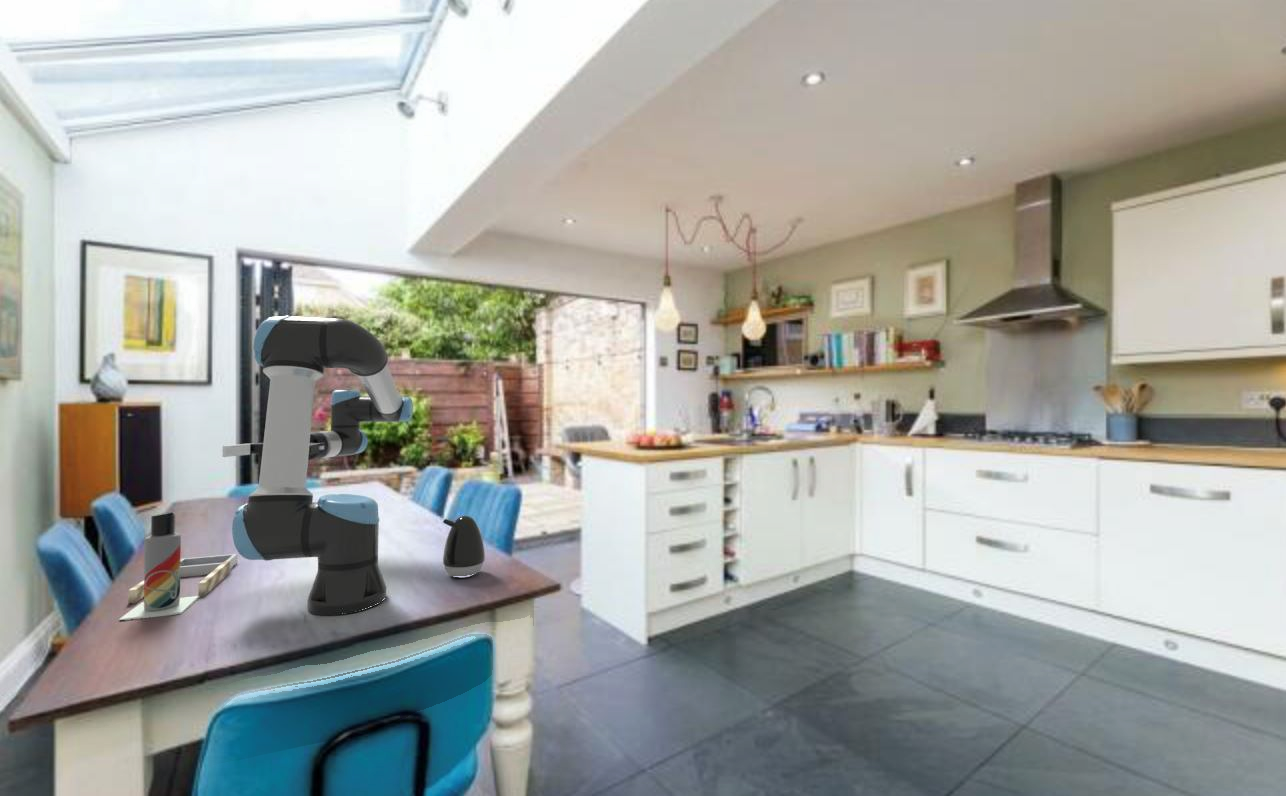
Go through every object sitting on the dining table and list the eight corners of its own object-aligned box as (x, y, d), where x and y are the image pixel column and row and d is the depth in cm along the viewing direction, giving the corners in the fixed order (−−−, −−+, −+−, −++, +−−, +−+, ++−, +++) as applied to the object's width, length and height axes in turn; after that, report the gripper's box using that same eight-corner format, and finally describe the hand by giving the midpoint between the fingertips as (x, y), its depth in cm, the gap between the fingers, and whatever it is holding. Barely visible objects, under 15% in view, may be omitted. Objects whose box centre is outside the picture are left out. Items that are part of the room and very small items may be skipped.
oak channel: (205, 595, 121) (205, 582, 121) (128, 604, 116) (128, 590, 116) (230, 572, 138) (230, 560, 138) (163, 578, 133) (164, 566, 133)
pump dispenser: (448, 569, 141) (448, 511, 141) (488, 568, 142) (488, 511, 142) (436, 582, 131) (437, 520, 131) (480, 581, 132) (480, 519, 132)
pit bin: (226, 572, 138) (226, 562, 138) (167, 578, 133) (167, 568, 133) (237, 563, 146) (237, 553, 146) (182, 568, 141) (182, 558, 141)
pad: (181, 613, 111) (181, 611, 111) (118, 621, 107) (118, 619, 107) (199, 597, 120) (199, 595, 120) (142, 603, 116) (142, 602, 116)
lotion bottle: (163, 612, 111) (165, 515, 111) (136, 611, 111) (137, 515, 111) (186, 601, 116) (188, 509, 116) (160, 601, 116) (161, 509, 116)
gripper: (356, 460, 146) (289, 469, 125) (281, 457, 152) (205, 466, 131) (356, 432, 146) (289, 437, 125) (281, 431, 152) (205, 435, 131)
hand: (246, 452), depth 128 cm, fingers open, 13 cm apart
